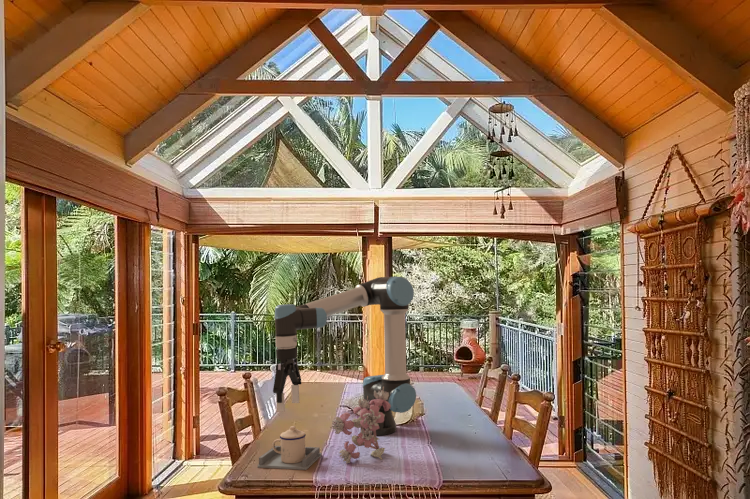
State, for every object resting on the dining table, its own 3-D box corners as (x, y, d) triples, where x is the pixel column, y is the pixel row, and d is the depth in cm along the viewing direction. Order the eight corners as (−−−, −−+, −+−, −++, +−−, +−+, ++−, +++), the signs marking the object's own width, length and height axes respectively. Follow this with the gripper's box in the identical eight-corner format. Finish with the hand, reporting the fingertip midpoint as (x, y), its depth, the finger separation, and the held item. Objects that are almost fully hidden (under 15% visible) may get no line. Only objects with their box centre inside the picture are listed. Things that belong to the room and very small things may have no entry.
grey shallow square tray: (321, 455, 207) (321, 446, 208) (306, 469, 192) (305, 460, 192) (276, 453, 212) (276, 444, 212) (257, 467, 196) (257, 458, 196)
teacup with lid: (308, 455, 205) (307, 423, 206) (303, 463, 196) (302, 429, 196) (276, 456, 206) (275, 423, 206) (269, 464, 197) (268, 430, 197)
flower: (338, 442, 217) (327, 389, 208) (396, 435, 217) (387, 381, 207) (336, 482, 199) (324, 426, 189) (399, 474, 198) (390, 418, 189)
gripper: (282, 352, 190) (284, 416, 189) (308, 343, 214) (310, 399, 213) (261, 352, 192) (263, 415, 191) (290, 343, 216) (292, 399, 215)
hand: (288, 407), depth 202 cm, fingers open, 13 cm apart
